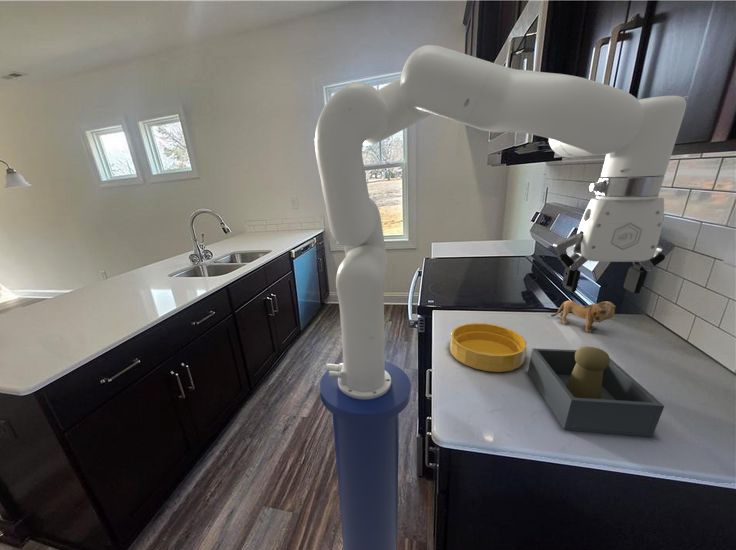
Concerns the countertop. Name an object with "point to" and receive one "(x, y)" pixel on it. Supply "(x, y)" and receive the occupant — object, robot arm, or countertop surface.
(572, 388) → the cork
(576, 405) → the bin
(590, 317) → the lion figurine
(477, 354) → the bowl
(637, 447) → the countertop surface
